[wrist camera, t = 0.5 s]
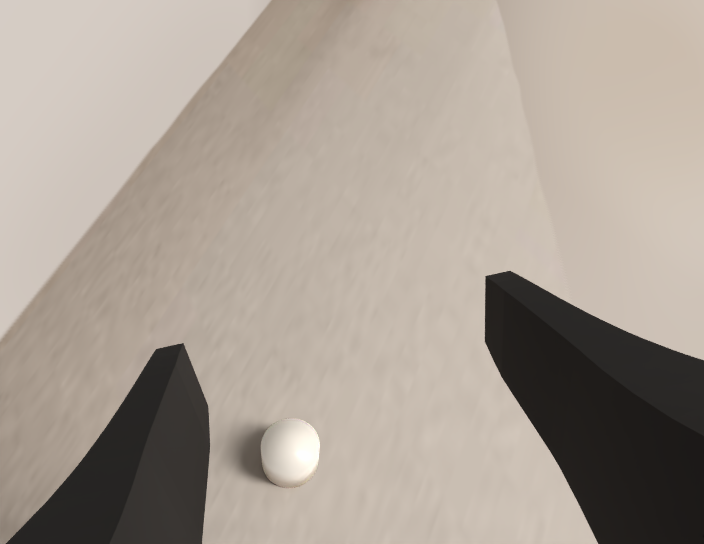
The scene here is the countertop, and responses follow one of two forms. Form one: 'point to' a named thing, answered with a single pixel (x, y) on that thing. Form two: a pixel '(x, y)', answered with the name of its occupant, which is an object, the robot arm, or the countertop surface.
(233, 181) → the countertop surface
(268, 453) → the white rounded knob
